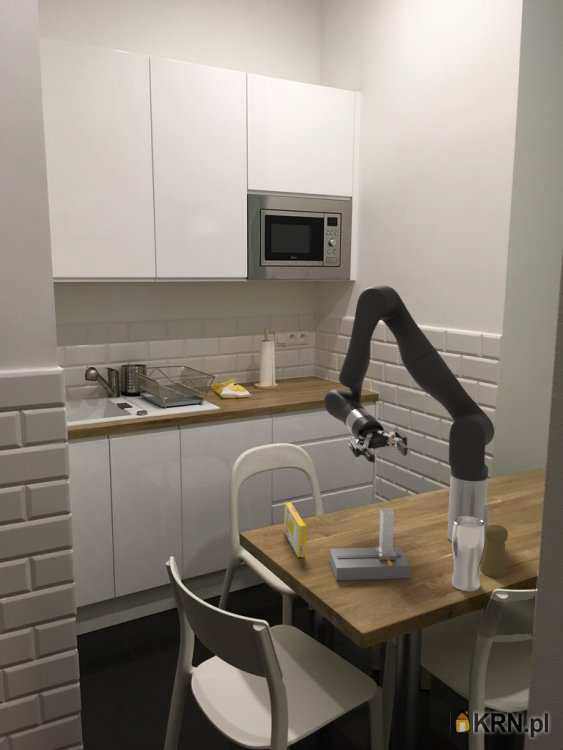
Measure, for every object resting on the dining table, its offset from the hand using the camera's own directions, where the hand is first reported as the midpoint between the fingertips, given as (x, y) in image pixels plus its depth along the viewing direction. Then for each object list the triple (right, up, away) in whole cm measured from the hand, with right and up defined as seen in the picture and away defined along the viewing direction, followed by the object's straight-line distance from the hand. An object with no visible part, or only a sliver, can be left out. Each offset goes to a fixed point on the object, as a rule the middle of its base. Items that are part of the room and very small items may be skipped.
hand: (389, 455), depth 157 cm
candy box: (-23, -24, +7) cm, 34 cm away
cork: (+23, -26, -7) cm, 36 cm away
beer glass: (+15, -27, -14) cm, 34 cm away
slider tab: (-2, -22, -7) cm, 24 cm away
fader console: (-6, -26, -7) cm, 27 cm away
